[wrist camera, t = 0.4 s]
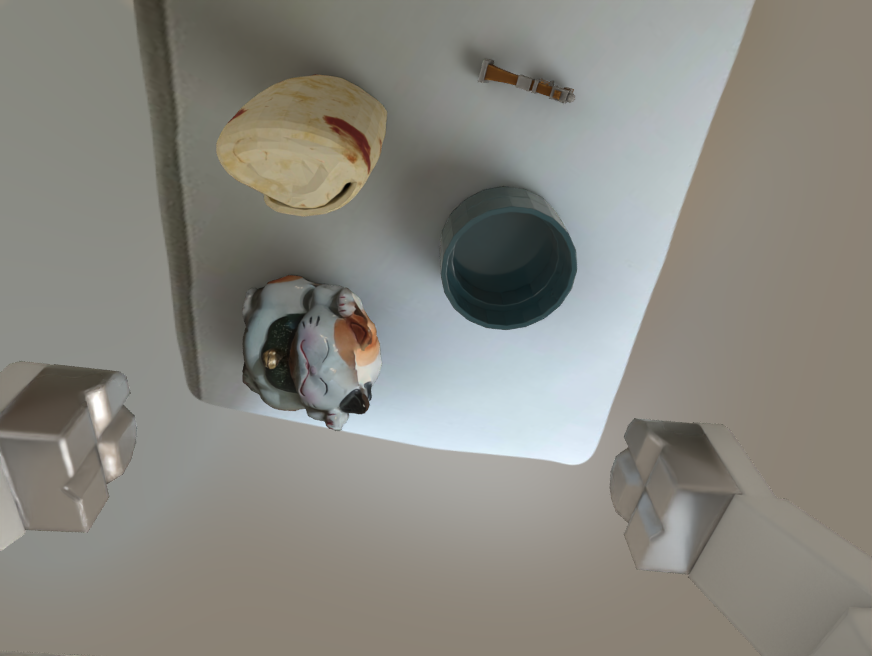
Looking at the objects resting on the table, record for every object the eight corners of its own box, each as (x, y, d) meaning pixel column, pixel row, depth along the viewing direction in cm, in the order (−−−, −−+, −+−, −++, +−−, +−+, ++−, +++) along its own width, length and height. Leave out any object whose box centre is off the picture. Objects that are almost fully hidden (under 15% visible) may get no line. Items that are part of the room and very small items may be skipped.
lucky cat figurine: (247, 256, 57) (282, 293, 46) (359, 269, 63) (416, 304, 52) (229, 396, 61) (258, 462, 49) (337, 395, 67) (385, 454, 55)
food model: (395, 78, 49) (381, 133, 32) (383, 155, 52) (363, 243, 35) (279, 52, 48) (198, 94, 31) (273, 133, 51) (199, 212, 34)
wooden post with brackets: (578, 107, 50) (568, 111, 46) (492, 80, 51) (476, 82, 48) (586, 85, 49) (576, 87, 45) (498, 58, 50) (482, 59, 47)
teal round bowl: (449, 177, 53) (452, 198, 48) (576, 193, 55) (592, 216, 49) (432, 292, 60) (433, 322, 55) (546, 305, 61) (558, 335, 56)
